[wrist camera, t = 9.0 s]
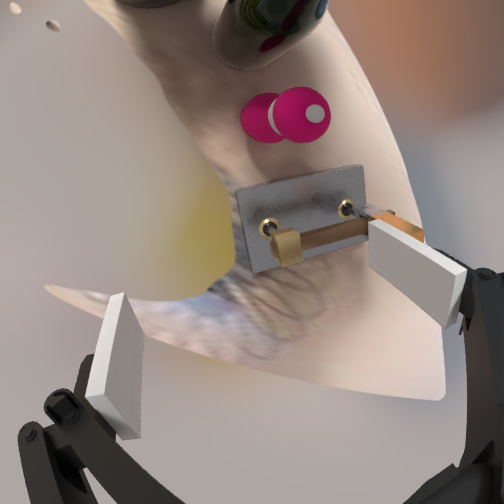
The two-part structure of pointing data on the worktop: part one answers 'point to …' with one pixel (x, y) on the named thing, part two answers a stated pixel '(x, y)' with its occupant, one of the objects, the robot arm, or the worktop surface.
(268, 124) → the pepper mill
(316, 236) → the wooden rod with block
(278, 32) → the beer bottle
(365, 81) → the worktop surface
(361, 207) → the block
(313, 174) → the bolt plate
